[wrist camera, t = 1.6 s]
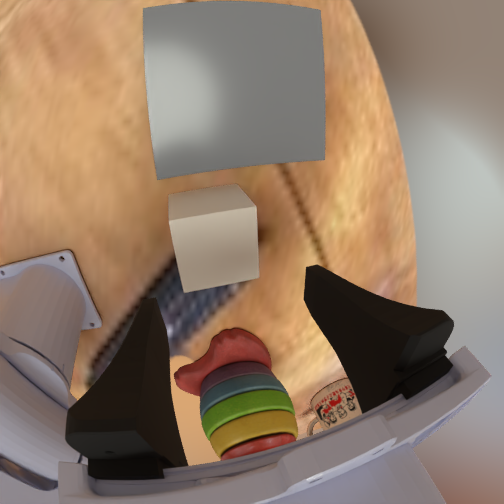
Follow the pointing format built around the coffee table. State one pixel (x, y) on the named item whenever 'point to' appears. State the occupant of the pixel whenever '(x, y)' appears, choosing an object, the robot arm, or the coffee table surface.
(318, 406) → the teacup with lid
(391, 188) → the coffee table surface
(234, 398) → the stacking bear
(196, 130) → the plate
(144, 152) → the coffee table surface
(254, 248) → the block
